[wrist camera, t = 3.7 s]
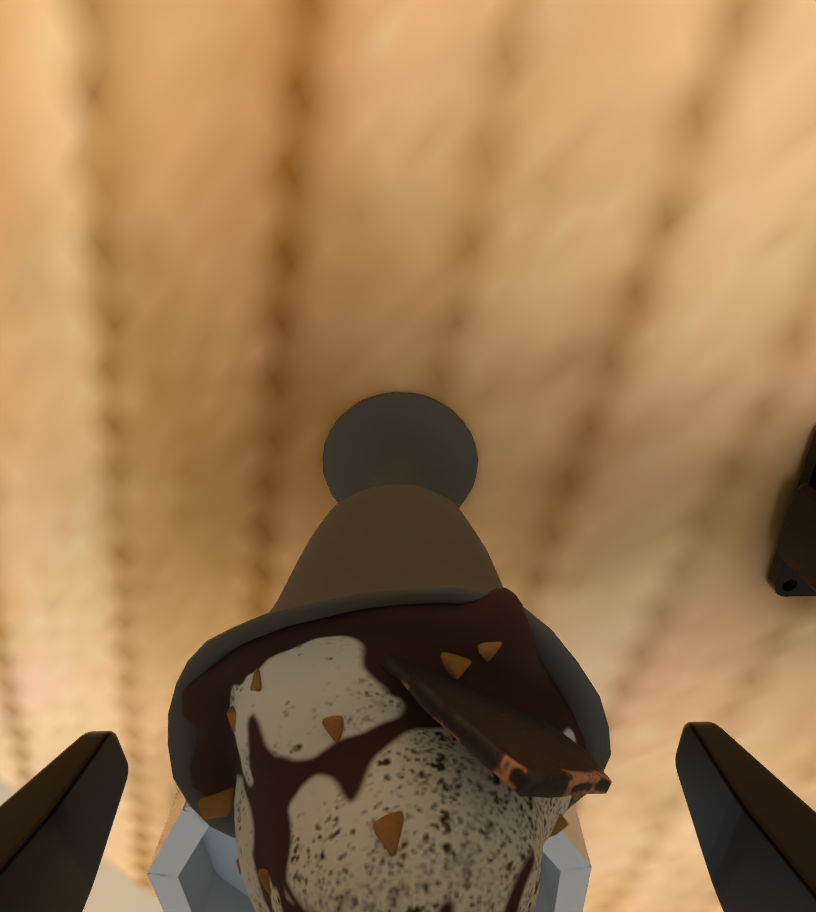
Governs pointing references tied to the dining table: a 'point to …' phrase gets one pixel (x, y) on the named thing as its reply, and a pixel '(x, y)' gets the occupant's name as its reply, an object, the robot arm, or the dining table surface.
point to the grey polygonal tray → (229, 906)
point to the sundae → (390, 699)
